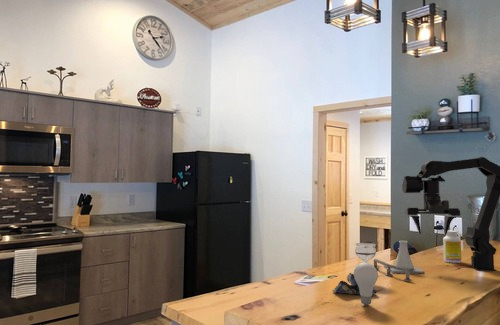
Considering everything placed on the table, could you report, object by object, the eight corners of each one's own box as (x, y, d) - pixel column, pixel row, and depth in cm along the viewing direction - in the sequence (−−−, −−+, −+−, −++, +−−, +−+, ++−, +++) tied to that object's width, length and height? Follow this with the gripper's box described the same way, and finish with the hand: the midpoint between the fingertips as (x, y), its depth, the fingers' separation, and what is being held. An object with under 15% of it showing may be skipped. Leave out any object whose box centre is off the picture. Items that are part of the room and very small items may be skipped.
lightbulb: (350, 302, 104) (350, 260, 105) (372, 302, 105) (372, 260, 105) (359, 309, 98) (358, 265, 99) (382, 308, 99) (381, 264, 99)
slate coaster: (413, 267, 151) (412, 265, 151) (424, 273, 140) (424, 271, 140) (384, 267, 151) (384, 265, 151) (393, 273, 140) (393, 271, 140)
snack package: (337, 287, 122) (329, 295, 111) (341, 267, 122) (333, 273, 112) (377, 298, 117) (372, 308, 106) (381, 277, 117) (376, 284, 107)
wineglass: (380, 281, 128) (379, 244, 129) (371, 284, 124) (370, 246, 124) (361, 277, 133) (360, 242, 134) (351, 281, 128) (350, 244, 129)
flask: (412, 271, 141) (411, 243, 141) (391, 268, 145) (390, 241, 145) (416, 267, 147) (415, 240, 147) (396, 265, 151) (395, 239, 151)
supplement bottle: (464, 263, 160) (463, 231, 161) (448, 263, 160) (447, 231, 161) (456, 260, 166) (455, 230, 167) (440, 260, 167) (439, 230, 167)
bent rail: (376, 268, 149) (376, 258, 149) (413, 281, 128) (413, 269, 128) (368, 268, 148) (367, 258, 149) (403, 282, 127) (403, 270, 127)
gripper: (409, 193, 146) (410, 235, 145) (464, 193, 142) (465, 237, 141) (404, 193, 157) (405, 232, 156) (455, 193, 153) (456, 233, 152)
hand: (432, 234), depth 151 cm, fingers open, 9 cm apart
